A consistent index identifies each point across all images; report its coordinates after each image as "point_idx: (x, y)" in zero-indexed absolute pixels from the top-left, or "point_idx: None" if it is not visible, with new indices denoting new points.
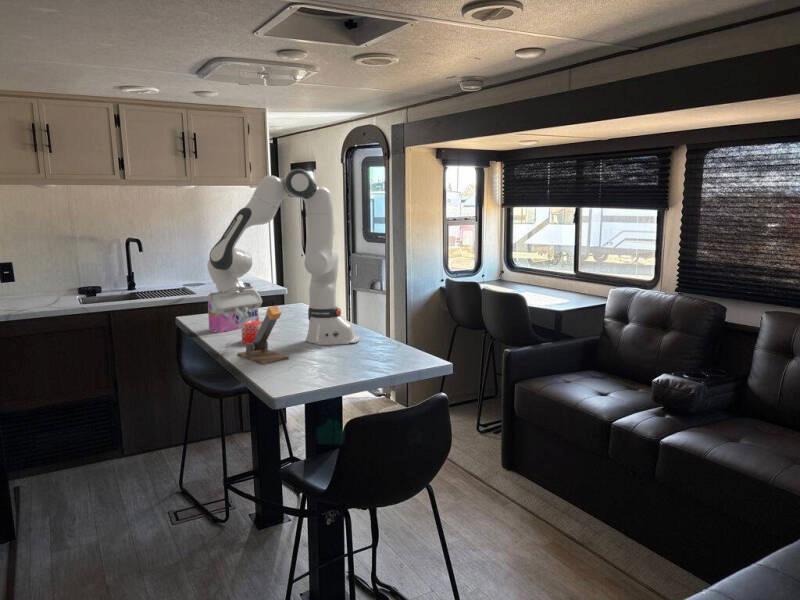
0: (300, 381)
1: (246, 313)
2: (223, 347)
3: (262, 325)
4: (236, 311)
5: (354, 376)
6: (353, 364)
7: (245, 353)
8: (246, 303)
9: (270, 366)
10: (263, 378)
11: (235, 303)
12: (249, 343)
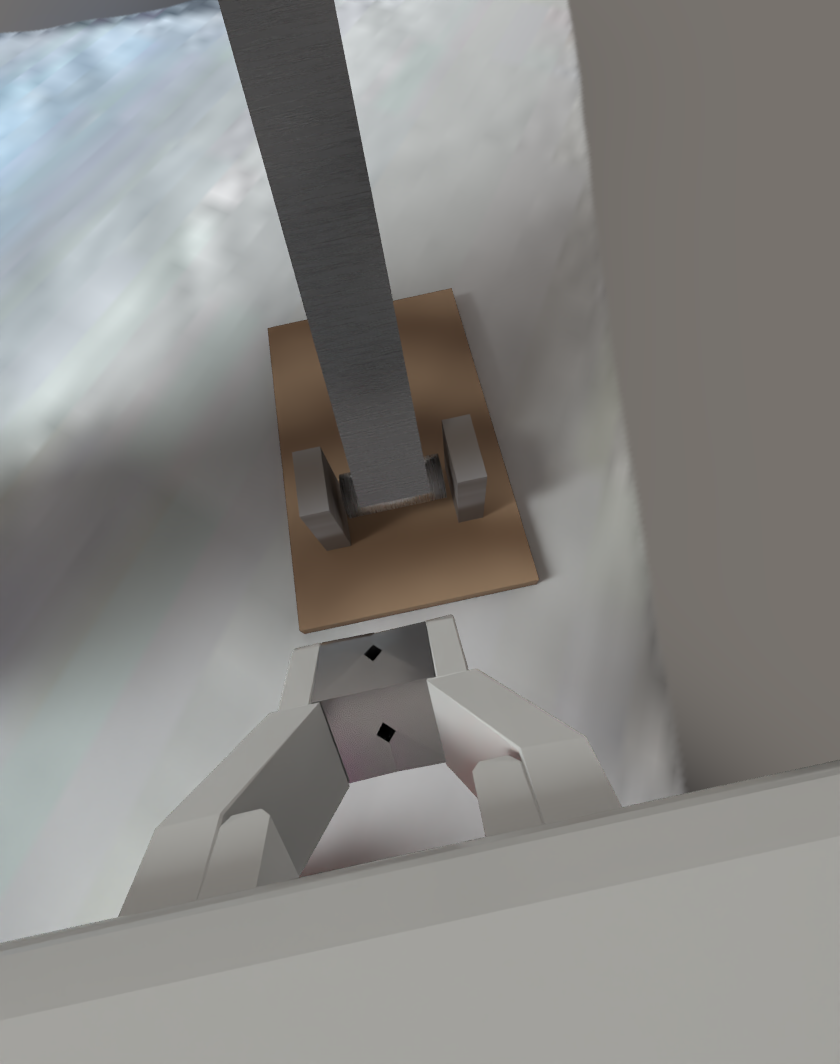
0: (405, 57)
1: (308, 683)
2: None
3: (360, 138)
4: (568, 744)
5: (199, 47)
6: (85, 154)
7: (483, 533)
8: (1, 1011)
9: (428, 257)
10: (530, 123)
11: (663, 1018)
12: (460, 450)
